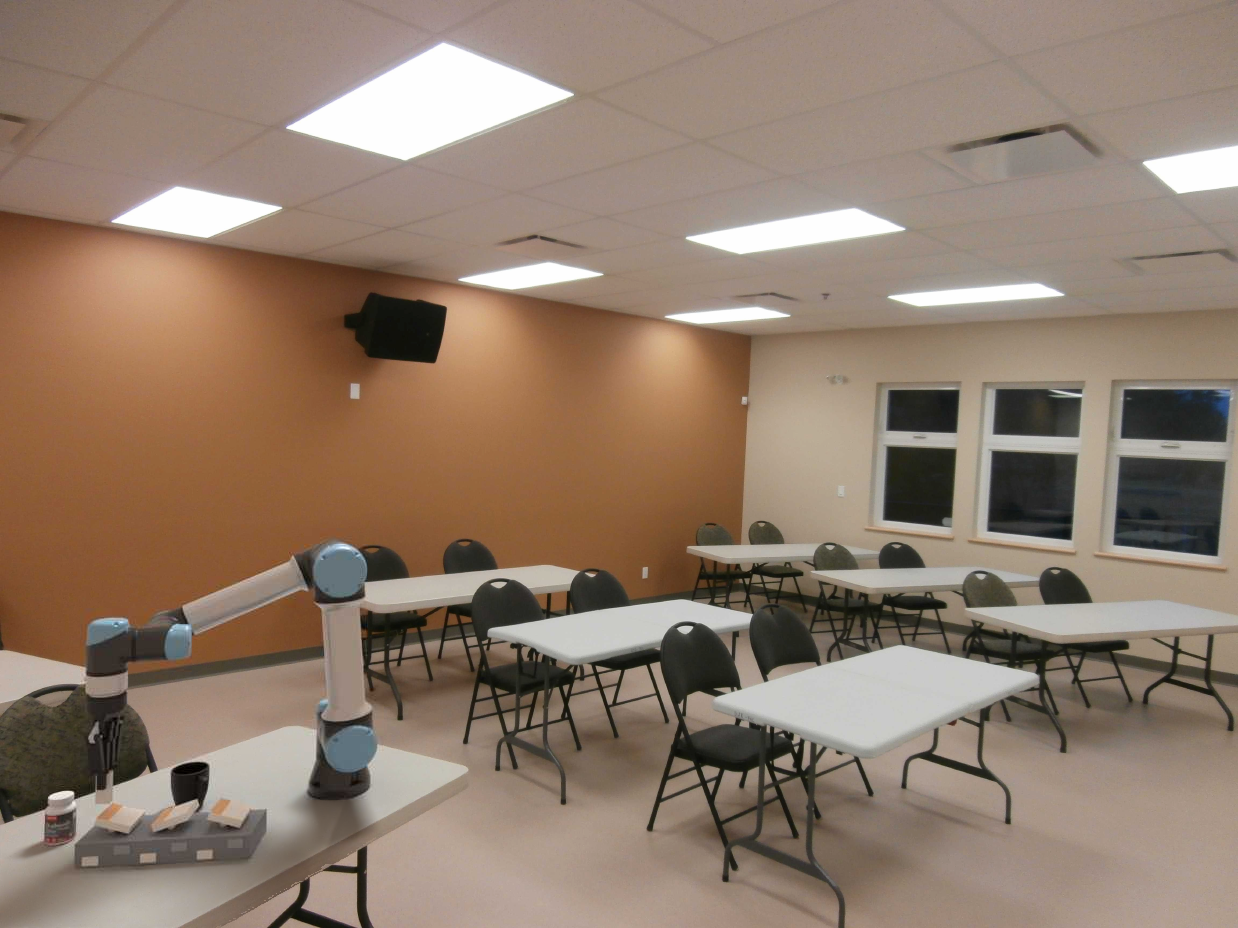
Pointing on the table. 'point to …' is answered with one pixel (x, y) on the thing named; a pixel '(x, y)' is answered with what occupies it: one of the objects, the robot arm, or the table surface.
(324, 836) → the table surface
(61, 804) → the pill bottle
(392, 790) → the table surface
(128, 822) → the switch
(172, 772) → the mug
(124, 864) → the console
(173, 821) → the switch
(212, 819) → the switch
